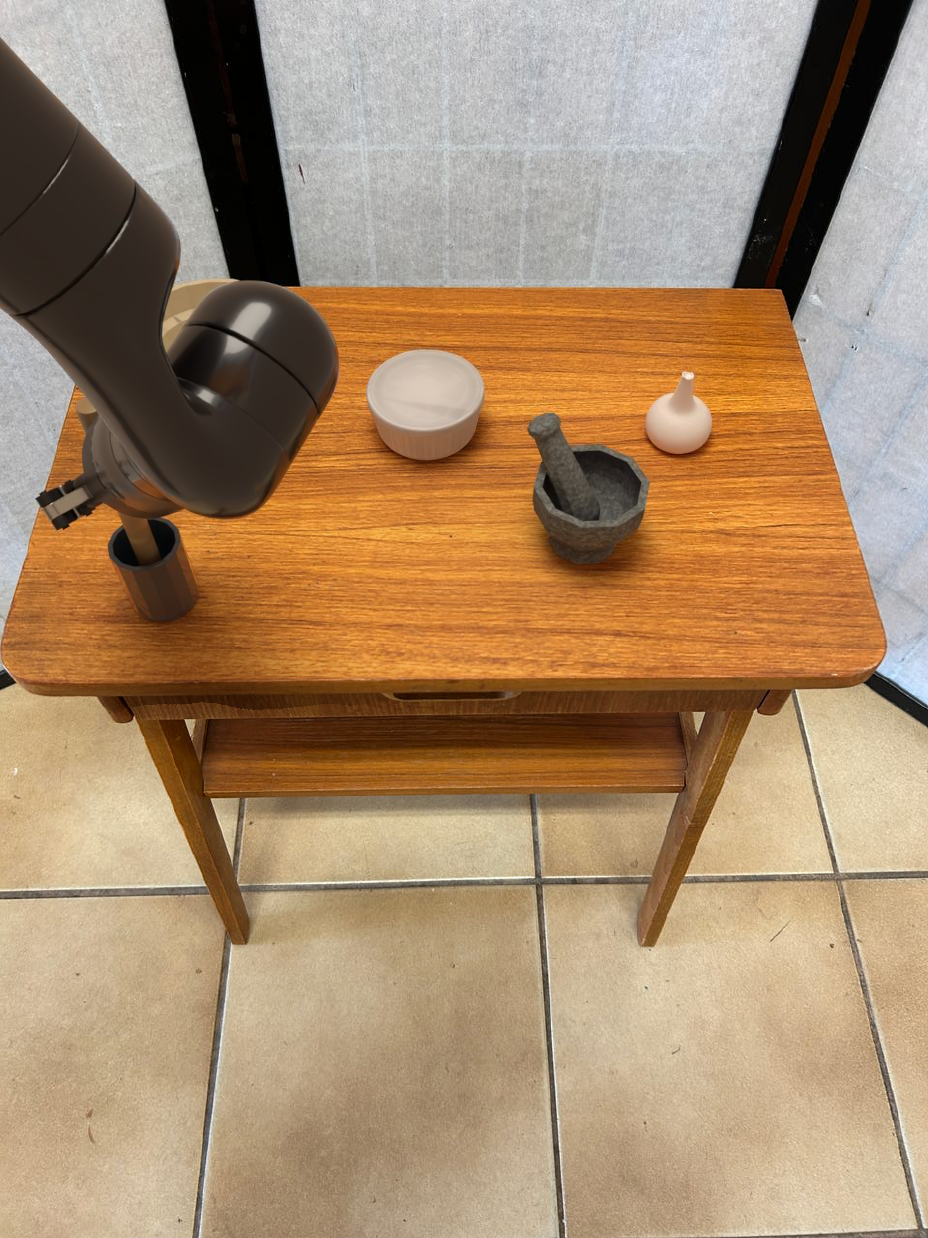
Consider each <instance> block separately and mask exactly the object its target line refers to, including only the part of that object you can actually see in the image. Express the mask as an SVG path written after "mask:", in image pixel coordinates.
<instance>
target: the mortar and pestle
mask: <svg viewBox="0 0 928 1238" xmlns="http://www.w3.org/2000/svg"><path fill="white" fill-rule="evenodd" d="M561 424H562V420H561V418H560V416H559V415H558V414H556V413H555V412H544V413H541V414H539V415H536V416H535V417H534V418H532V420H530V421H529V423H528V426H527V427H526V430H527V434H528V435H529V436H530V437H531V438H532V439H533V440H534V442H535V444H536V447H537V450H538V452H539V456H540V458H541V460H542V461H540V463H539V467H538V471H537V473H536V476H535V477H536V478H535V481H534V485H533V489H532V490H533V491H532V506H533V511H534V512H535V514H536V516H537V518H538V519H539V521H540V523H541V524H542V526H543V528H544V529H545V531H546V532H547V534H548V540H547V541H548V542H549V544H550V545H551V547H552V549H553V550H554V552H555V554H556V555H557V556H558V557H560V558H562V559H564V560H567V561H568V562H571V563H572V564H575V565H595V564H600V563H601V562H603V561H604V560H605V559H607V558H609V557H610V556H612V555H613V554H615V551H616V546H617V545H618V544H620V543H622V541H624V540H625V539H626V538H628V537H630V536H631V535H632V534H633V533H635V532H637V531H638V529H639V527H640V525H641V523H642V521H643V520H644V515H645V511H646V507H647V503H648V502H647V501H648V497H649V496H648V495H649V490H650V485H651V481H650V480H649V479H648V477H647V476H646V474H645V473H644V472H643V470H642V468H641V467H640V466H639V464H638V463H637V462H636V459H634V457H631V456H629V455H626V454H624V453H622V452H620V451H617V450H616V449H613V448H610V447H608V446H606V445H603V444H585V445H584V444H581V445H570V444H569V442H568V440H567V439H566V436H565V434H564V432H563V431H562V428H561Z"/></svg>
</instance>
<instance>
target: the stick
mask: <svg viewBox="0 0 928 1238" xmlns="http://www.w3.org/2000/svg"><path fill="white" fill-rule="evenodd" d="M74 410H75V413H76V415H77V417H78V419H79V423H80V424H81V427H82V429H83V431H84V434H85V435H86V433H87V431H88V429H89V427H90V425H91V424H92V423H93V421H94V420H95V419H96V418H97V417H98V416H99V414H98V413H97V411H96V410H95V409H94V407H93V406H92V405H91V403H90V402H89V401H88V399H87V398H86V397H85V396H83V397H80V398H79V399H78V400H76V402H75V404H74ZM116 512H117V515H118V516H119V518H120V522H121V525H123V526H124V529H125V531H126V534H127V536H128V538H129V541H130V543H131V546H132V548H133V551H134V553H135V555H136V558H137V560H138V563H139V565H140V566H149V565H151V564H154V563H156V562H159V561H161V560H162V558H161V556H160V553H159V550H158V548H157V545H156V542H155V540H154V537H153V534H152V532H151V529H150V527H149V524H148V521H147V519H143V518H136V517H131V516H128V515H125V514H122V513H120V512H118V511H116Z"/></svg>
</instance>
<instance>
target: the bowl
mask: <svg viewBox="0 0 928 1238" xmlns="http://www.w3.org/2000/svg"><path fill="white" fill-rule="evenodd" d="M234 281H241V280H239V279H235V278H203V279H197V280H191V281H186V282H182V283H180V284H176V285H173V288H172V291H171V294H170V297H169V300H168V304H167V307H166V311H165V316H164V320H163V331H162V338H163V344H164V348H165V351H166V352H167V351H168V349H169V347H170V346H171V344H172V343H173V341H174V340H175V338H176V337H177V335H178V333H179V332H180V330H181V329H182V327H183V326H184V324H185V323H186V321H187V320H188V318H189V317H190V316H191V314H192V313H193V311H194V310H195V308H196V307H197V305H198V304H199V303H200V301H201V300H202V299H203V298H204V296H205V295H207V294H208V293H209V292H210V291H212V290H213V289H215V288H217V287H219V286H221V285H224V284H226V283H230V282H234Z"/></svg>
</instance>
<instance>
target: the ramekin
mask: <svg viewBox="0 0 928 1238" xmlns="http://www.w3.org/2000/svg"><path fill="white" fill-rule="evenodd" d="M485 389H486V387H485V382H484V379H483V377H482V375H481V373H480V371H479V370H478V368H476V366H475V365H473V364H472V363H471V362H470V361H468V360H467V359H466V358H463V357H462V356H460V355H458V354H455V353H453V352H449V351H445V350H439V349H416V350H415V349H413V350H408V351H405V352H402V353H399V354H396V355H395V356H392V357H390V358H388V359H387V360H385V361H384V362H382V363H381V364H380V365H379V366H377V368H375V369H374V371H373V372H372V374H371V375H370V377H369V379H368V382H367V385H366V388H365V399H366V403H367V407H368V411H369V413H370V414H371V415H372V418H373V421H374V424H375V427H376V430H377V432H378V435H379V437H380V438H381V441H383V443H384V444H385V446H388V448H389V449H390V450H392V451H393V452H395V453H397V454H398V455H401V456H403V457H404V458H408V459H411V460H417V461H436V460H441V459H445V458H448V457H450V456H452V455H455V454H456V453H458V452H459V451H461V450H462V449H463V448H465V447H466V445H468V443H469V442H470V441H471V440H472V438H473V436H474V434H475V432H476V429H477V425H478V422H479V417H480V414H481V410H482V409H483V405H484V402H485V398H486V397H485V396H486V391H485Z"/></svg>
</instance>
